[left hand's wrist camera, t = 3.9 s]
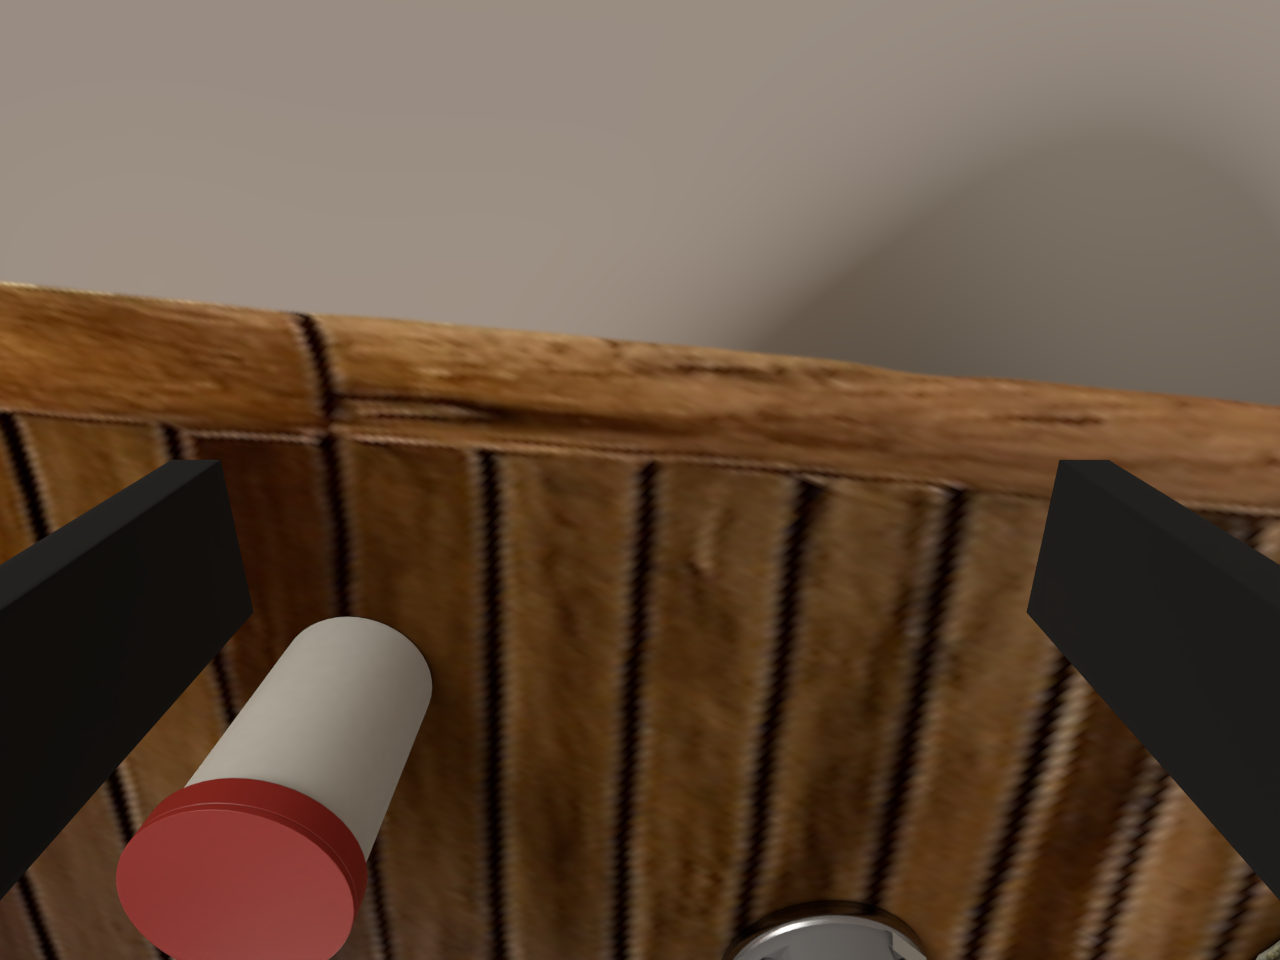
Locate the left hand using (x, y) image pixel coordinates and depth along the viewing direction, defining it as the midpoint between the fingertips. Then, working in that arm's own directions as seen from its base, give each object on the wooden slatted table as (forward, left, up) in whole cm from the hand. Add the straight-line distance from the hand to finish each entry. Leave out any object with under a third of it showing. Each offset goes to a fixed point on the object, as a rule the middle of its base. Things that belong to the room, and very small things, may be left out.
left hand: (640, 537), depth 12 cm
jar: (-23, +17, -28) cm, 40 cm away
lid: (-23, +17, -13) cm, 32 cm away
